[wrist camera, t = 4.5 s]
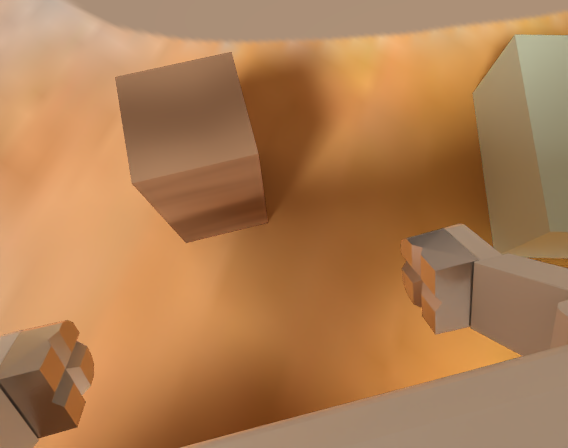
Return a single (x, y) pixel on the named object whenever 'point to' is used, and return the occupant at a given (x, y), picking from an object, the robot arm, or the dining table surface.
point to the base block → (526, 146)
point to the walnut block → (193, 146)
